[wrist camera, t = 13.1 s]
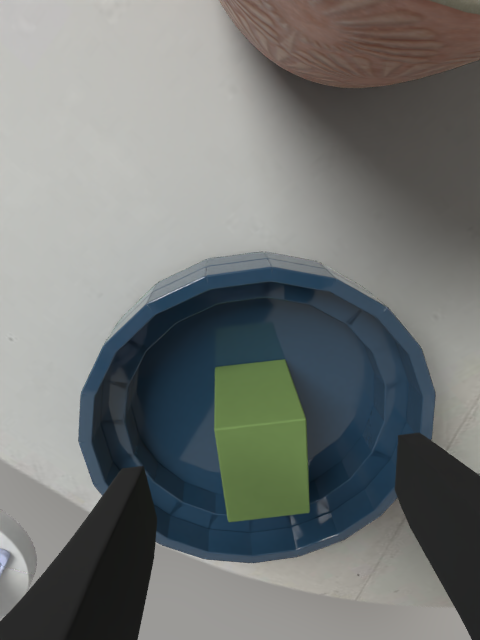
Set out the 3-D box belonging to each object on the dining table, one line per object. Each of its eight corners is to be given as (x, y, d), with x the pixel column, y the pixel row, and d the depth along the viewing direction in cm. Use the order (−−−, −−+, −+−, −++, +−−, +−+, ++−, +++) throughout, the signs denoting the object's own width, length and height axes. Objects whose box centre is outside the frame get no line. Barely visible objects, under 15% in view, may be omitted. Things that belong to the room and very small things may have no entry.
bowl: (299, 539, 25) (311, 594, 22) (57, 451, 21) (29, 502, 18) (462, 341, 20) (508, 374, 17) (184, 184, 17) (176, 188, 13)
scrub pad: (290, 437, 21) (310, 513, 17) (225, 445, 21) (227, 523, 17) (285, 358, 19) (306, 418, 15) (214, 366, 19) (213, 429, 15)
